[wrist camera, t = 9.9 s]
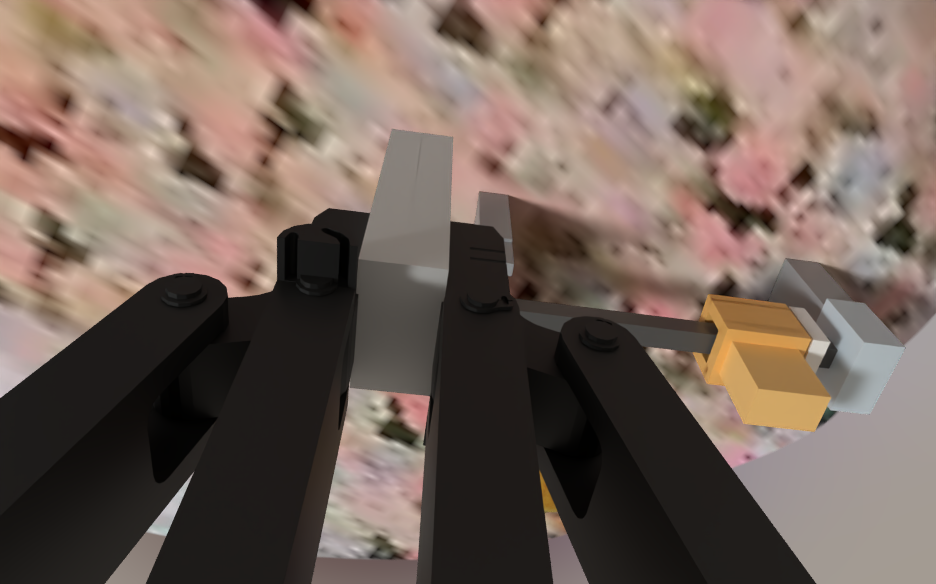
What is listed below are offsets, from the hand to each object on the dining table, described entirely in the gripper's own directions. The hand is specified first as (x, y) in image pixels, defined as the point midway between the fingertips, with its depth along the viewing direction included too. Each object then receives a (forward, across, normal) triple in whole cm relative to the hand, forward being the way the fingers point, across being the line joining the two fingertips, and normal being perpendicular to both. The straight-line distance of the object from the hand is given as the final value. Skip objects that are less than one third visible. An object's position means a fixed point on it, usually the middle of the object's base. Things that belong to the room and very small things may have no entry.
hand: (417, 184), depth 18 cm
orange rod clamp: (+21, +21, -16) cm, 34 cm away
